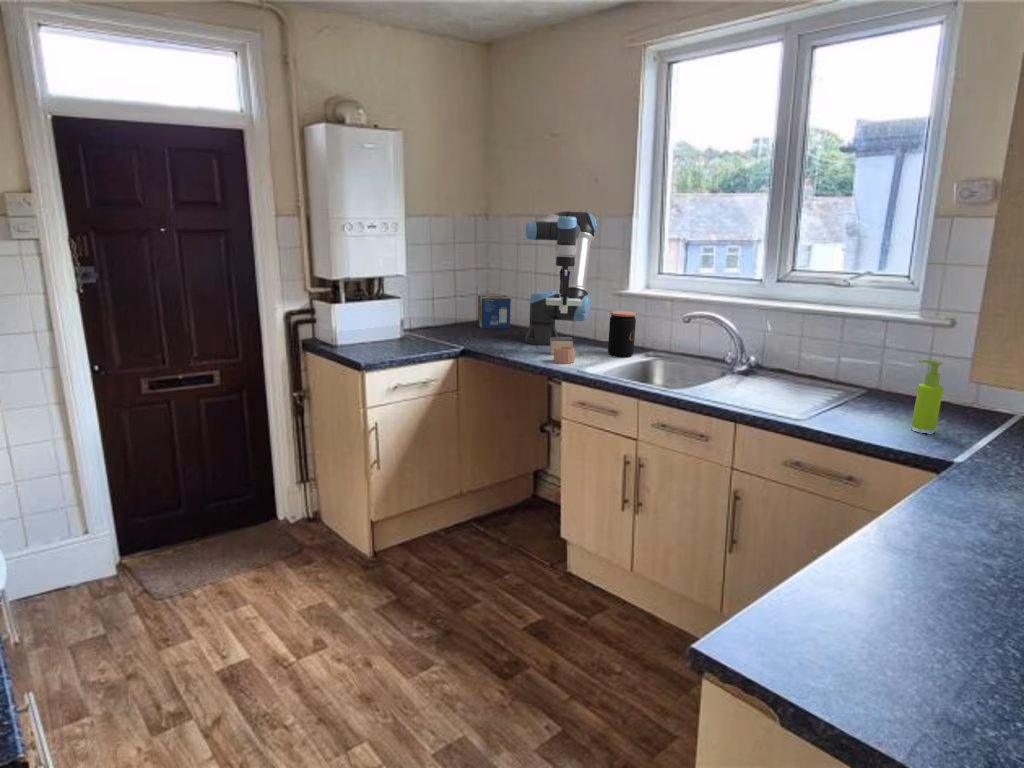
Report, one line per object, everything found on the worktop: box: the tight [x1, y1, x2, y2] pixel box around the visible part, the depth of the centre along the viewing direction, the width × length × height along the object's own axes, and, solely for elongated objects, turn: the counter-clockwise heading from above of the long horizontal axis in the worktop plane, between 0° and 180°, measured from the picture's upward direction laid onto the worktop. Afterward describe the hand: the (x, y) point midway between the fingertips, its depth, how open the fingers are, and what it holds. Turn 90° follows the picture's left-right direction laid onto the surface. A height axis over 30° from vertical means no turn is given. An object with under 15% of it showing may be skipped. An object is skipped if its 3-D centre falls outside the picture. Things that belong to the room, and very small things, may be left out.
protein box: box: [477, 295, 512, 329], centre depth 344 cm, size 10×15×16 cm
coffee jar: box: [607, 310, 637, 358], centre depth 279 cm, size 11×11×18 cm
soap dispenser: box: [911, 359, 944, 430], centre depth 185 cm, size 6×7×20 cm
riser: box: [549, 336, 574, 356], centre depth 280 cm, size 6×9×6 cm, turn 90°
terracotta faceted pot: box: [553, 346, 576, 365], centre depth 265 cm, size 8×8×6 cm
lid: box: [546, 298, 582, 306], centre depth 272 cm, size 10×14×2 cm
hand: (563, 311), depth 273 cm, fingers closed on lid, 10 cm apart
